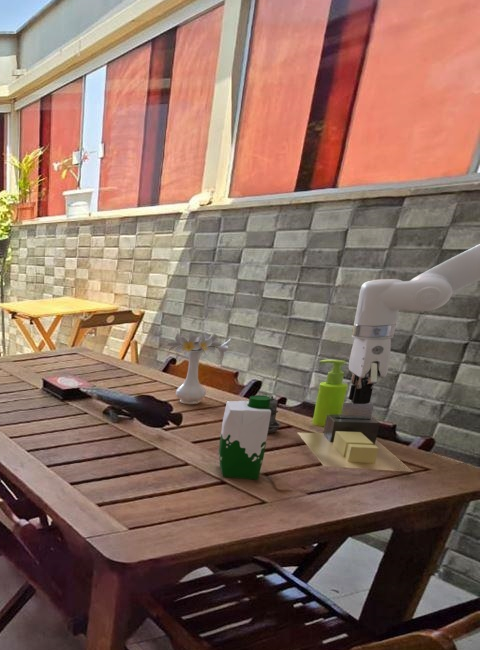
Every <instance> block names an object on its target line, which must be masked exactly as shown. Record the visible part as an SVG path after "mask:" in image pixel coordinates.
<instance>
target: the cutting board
mask: <svg viewBox="0 0 480 650" xmlns="http://www.w3.org/2000/svg"><path fill="white" fill-rule="evenodd" d="M297 435H298V436H299V437H300V438H301V440H302V441H303V442H304V443H305V444H306V446H307V447H308V448H309V450H310V451H311V452H312V454H314V456H315V457H316V458H317V460H318V461H319V462H320V463H321V465H322V466H323V467H328V468H342V469H344V468H345V469H359V470H360V469H361V470H374V471H375V470H377V471H393V472H404V473H405V472H406V473H407V472H408V473H414V471H413V470H412V469H411V468H409V466H407V465H406V464H405V463H404V462H403V461H402V460H400V459H399V458H398V457H397V456H396V455H395V454H393V452H391V450H389V449H388V448H387V447H385V445H383V444H382V443H381V442H380V441H379V440H378V439H376V442H375V444H373V445H376V446H377V447H378V448H379V449H378V453H377V457H376V461H375V463H362V462H348V461H347V460H346V459H345V457H343V456H342V455H341V454H340V452H339V451H338V450H337V449H336V448H335V447H334V446H333V442H330V441H329V440H328V439H327V438H326V437H325V436H324V435H323V433H319V432H297Z"/></svg>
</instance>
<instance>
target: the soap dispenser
mask: <svg viewBox="0 0 480 650" xmlns="http://www.w3.org/2000/svg"><path fill="white" fill-rule="evenodd" d="M318 362H319V364H333V366H332V370H330V371H328V372H327V375H326V379H325V380H326V381H322V382H320V383H319V387H318V392H317V397H316V402H315V405H314V406H315V407H314V411H313V417H312V422H311V423H312V424H313V425H315V426H318V427H324V428H325V423H326V418H327V414H329V415H341V412H342V407H343V403H345V399H346V395H347V390H348V387H349V385H348V383H344V382H343V381H344V376H345V372H344V371H342V366H343V365H345V364H346V363H347V362H346V360H342V359H332V358H331V359H321V360H319V361H318Z"/></svg>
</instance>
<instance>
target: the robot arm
mask: <svg viewBox="0 0 480 650" xmlns="http://www.w3.org/2000/svg"><path fill="white" fill-rule="evenodd" d="M479 281H480V243H478V244H477V245H475V246H473V247H471V248H469V249H467V250H465V251H463V252H461V253H458V254H456V255H455V256H453V257H451V258H449V259H447V260H445V261H443V262H441V263H439V264H437V265H435V266H434V267H431V268H430V269H428V270H426V271H424V272H422V273H420V274H418V275H416V276H414V277H413V278H412V279H410V280H405V281H404V280H401V279H398V278H382V279H381V278H380V279H373V280H368V281H365V282H364V283H362V285H361V286H360V289H359V295H358V300H357V306H356V312H355V317H354V322H353V325H352V327H353V328H352V332H351V338H352V339H354V340H353V343H352V347H351V351H350V355H349V360H348V370H349V372H351V373H352V378H351V385H350V389H349V395H348V400H350V401H351V400H352V395H353V390H354V385H355V380H359V381H358V386H357V388H355V392H354V397H353V402H354V403H371V398H372V393H373V389H374V387H375V385H376V384H377V383H378V377H379V378H380V379H384V378H386V377H387V375H388V370H389V364H390V357H391V349H392V338H394V336H395V331H396V325H397V321H398V318H399V317H398V316H399V312H400V311H409V312H411V311H412V312H429V311H434V310H437V309H439V308H441V307H443V306H445V305H446V304H447V303H448V302H449V301H450V299H451V298H452V295H453V293H454V294H455V292H458V291H460V290H462V289H464V288H466V287H469V286H470V285H472V284H475V283H477V282H479ZM363 380H364V381H363Z"/></svg>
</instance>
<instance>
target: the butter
mask: <svg viewBox="0 0 480 650" xmlns="http://www.w3.org/2000/svg"><path fill="white" fill-rule="evenodd" d="M348 444H359V445H373V443H372V442H371V441H370V440H369V439H368V438H367V437H366V436H365V435H363V434H362V433H361V432H344V431H336V432H335V437H334V442H333V446H334V447H335V448H336V449H337V450H338V451H339V452H340V454H341V455H342V456H343V457H346V453H347V448H348Z"/></svg>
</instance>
